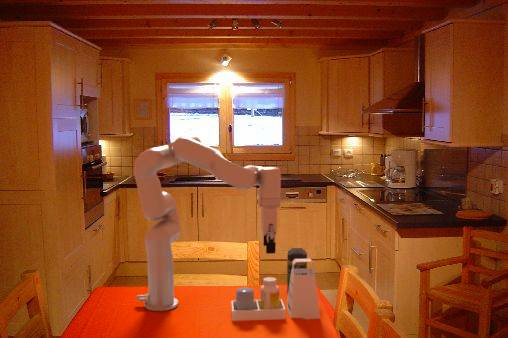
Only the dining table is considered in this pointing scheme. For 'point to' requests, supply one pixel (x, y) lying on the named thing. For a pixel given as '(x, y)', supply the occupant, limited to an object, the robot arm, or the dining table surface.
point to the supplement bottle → (269, 294)
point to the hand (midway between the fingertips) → (269, 249)
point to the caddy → (258, 312)
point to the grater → (303, 293)
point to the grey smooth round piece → (244, 299)
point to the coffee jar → (296, 254)
